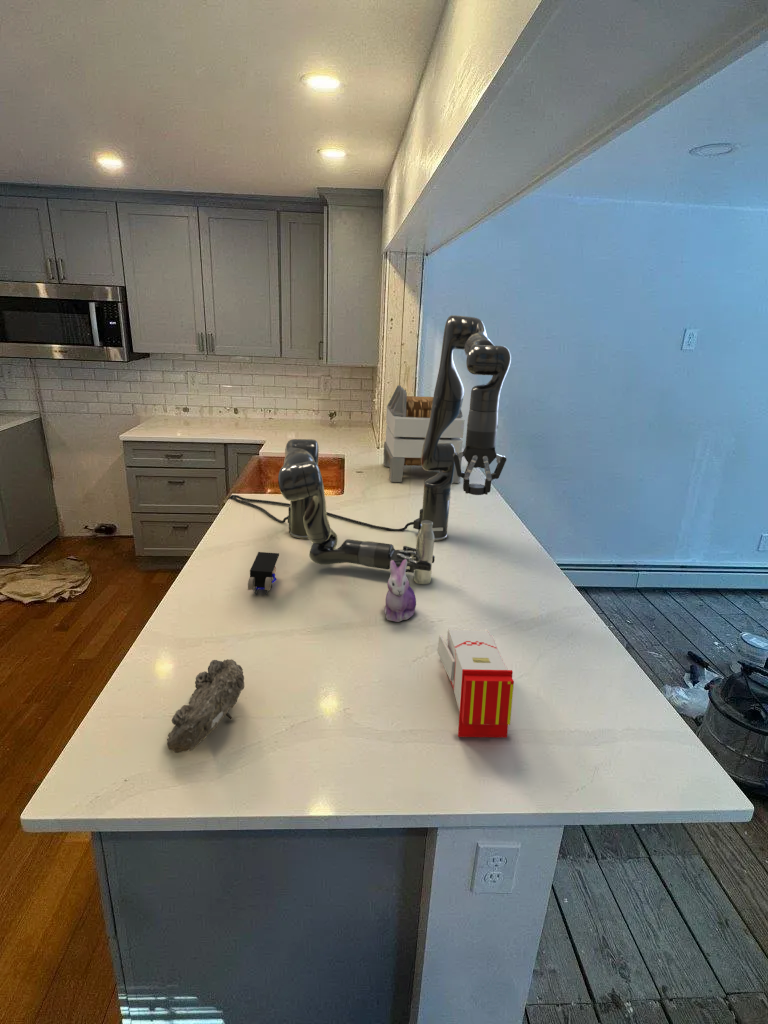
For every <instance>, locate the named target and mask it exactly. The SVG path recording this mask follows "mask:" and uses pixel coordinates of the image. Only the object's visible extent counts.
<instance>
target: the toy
mask: <svg viewBox="0 0 768 1024" xmlns="http://www.w3.org/2000/svg"><path fill="white" fill-rule="evenodd" d="M446 640H447V643H446V641H445V639H444V636H443V635H442V634H439V637H438V646H437V656H438V657H439V659H440V661H441V663H442V666H443V668H444V670H445V672H446V674H447V677H448V679H449V681H450V684H451V687H452V690H453V693H454V697H455V701H456V705H457V708H458V711H459V714H458V715H459V716H458V730H457V731H458V732H457V737H458V738H508V731H509V726H510V725H511V717H512V707H513V697H514V696H513V695H514V684H515V680H514V679H513V673H514V671H513V670H512V669H508V667H507V665H506V662H505V661H504V659H503V658H502V655H501V653H500V651H499V649H498V647H497V643H496V639H495V637H494V635H493V634H491V632H490V631H489V629H467V628H466V629H465V628H463V629H461V628H460V629H459V628H448V630H447V639H446Z"/></svg>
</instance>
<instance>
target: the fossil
mask: <svg viewBox="0 0 768 1024" xmlns="http://www.w3.org/2000/svg"><path fill="white" fill-rule="evenodd" d="M243 670H244V669H243V667H242V665H240V664H237V662H236V661H235V660H234V659H232V658H231V659H227V658H226V659H224V660H223V661H222V660H217V659H212V660H211V661H210V663H209V665H208V666H207V671H201V672H199V673H198V674H197V675H196V676H195V680H194V684H195V685H194V687H195V689H194V690H193V693H192V694H191V697H190V698H189V700H188V704H184V705H182V706H181V707H180V709H177V710H176V711H175V713H174V715H173V716H172V718H171V723H172V724H173V727H172V730H171V731H170V732H168V734H167V738H166V741H167V742H166V745H167V749H168V750H169V751H173V752H174V753H176V754H178V753H182V752H188V751H189V752H192V751H193V750H195V748H196V747H197V746H199V744H200V743H201V742H203V741H204V740H205V739H206V738H207V737H208V736H209V735H210V734H211V733H212V732H214V730H215V729H217V727H218V726H219V724H220V722H221V721H222V720H223V719H224V718H225V716H226V717H227V719H229V720H233V717H232V715H230V714H229V710H230V709H231V708H234V706H235V704H236V703H237V702H238V699H239V697H240V695H241V693H242V691H243V690H245V689H244V688H245V675H244V671H243Z"/></svg>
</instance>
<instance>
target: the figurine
mask: <svg viewBox="0 0 768 1024" xmlns="http://www.w3.org/2000/svg"><path fill="white" fill-rule="evenodd" d="M406 567H407V559H404V560H403V561H402V563H401V565H400V566H399V567H397V566H396V564H395V562H394V561H393V560H391V561H390V569H389V570H390V576H389V578H388V579H387V589H388V591H387V592H386V594H385V595H386V596H385V607H384V615H385V616H386V620H387V621H391V622H395V623H400V622H402V621H406V620H409V619H410V618H411V617H413V616H414V615H415V610H416V606H417V597H416V593H415V591H414V590H413V587H411V586H410V582H409V579H408V577H407V574H406V572H405V571H406Z"/></svg>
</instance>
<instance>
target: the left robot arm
mask: <svg viewBox="0 0 768 1024" xmlns="http://www.w3.org/2000/svg"><path fill="white" fill-rule="evenodd" d="M285 444H286V445H285V448H284V460H283V463H282V466H281V468H280V469H279V471H278V476H277V482H278V483H277V484H278V489H279V492H280V494H281V495H282V497H283V498H284V499H285V500H287V501H289V502H290V503H289V504H290V506H288V515H287V516H286V517H285V516H284V518H283V520H282V519H279V518H278V517H276V516H274V515H273V514H271V513H270V512H269V511H268V510H266V509H265V508H263V507H261V506H259V505H257V504H254V503H253V502H250V501H244V500H241V499H239V498H236V497H235V496H233V498H232V499H234V501H236V502H237V503H242V504H245V505H248V506H251V507H253V508H256V509H258V510H259V511H261V512H263V513H264V514H266V515H267V516H268V517H269V518H271V519H273V520H274V521H276V522H277V523H280V524H284V523H286V521H287V524H288V533H290V536H291V537H293V538H294V539H301V540H307V539H308V540H309V541H310V542H311V547H310V550H309V553H308V557H309V560H311V561H312V562H313V563H314V564H317V565H319V566H329V565H337V564H338V565H339V564H346V563H347V564H354V565H360V566H364V567H368V568H374V569H380V570H390V561H391V560H393V561H394V562H395V564H396V566H397V567H399V566H400V565H401V563H402V561H403V560H404V559H407V567H406V571H405V573H410V574H414V570H417V569H419V570H426V571H430V570H431V571H432V569H431V563H426V562H420V561H419V562H418V561H415V558H416V547H415V548H414V547H411V546H407V545H403V546H402V549H395V547H394V544H391V543H385V542H379V541H369V540H368V541H366V540H365V541H364V540H357V539H345V540H344V541H343V542H342V544H341V545H340V546H339V547H338V548H337V545H338V535H337V533H336V532H335V531H334V530H333V529H332V528H331V525H330V522H329V518H328V515H327V513H326V512H327V503H326V502H327V501H326V493H325V485H324V480H323V476H322V473H321V469H320V467H319V456H320V455H319V454H320V453H319V452H320V451H319V450H320V449H319V443H318V441H317V440H316V439H314V438H313V439H312V438H311V439H310V438H307V439H305V438H304V439H302V438H292V439H290V440H288V441H287V443H285ZM232 495H233V494H231V495H230V496H232ZM435 559H436V556H435V555H434V554H433V558H432V564H434V563H435V561H436V560H435Z"/></svg>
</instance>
